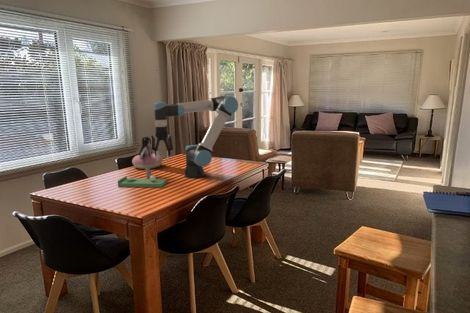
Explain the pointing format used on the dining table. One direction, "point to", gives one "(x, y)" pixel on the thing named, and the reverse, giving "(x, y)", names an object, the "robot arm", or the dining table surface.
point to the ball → (152, 178)
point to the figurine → (146, 155)
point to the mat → (141, 182)
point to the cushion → (138, 163)
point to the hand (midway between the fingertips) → (163, 160)
